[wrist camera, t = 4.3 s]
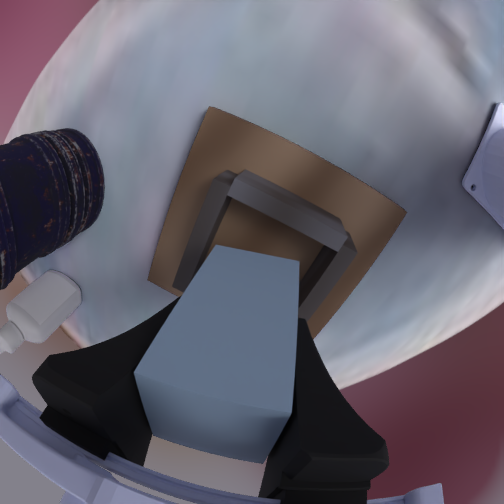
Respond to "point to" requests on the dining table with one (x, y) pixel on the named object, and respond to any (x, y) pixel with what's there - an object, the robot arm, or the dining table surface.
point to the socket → (272, 214)
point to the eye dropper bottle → (39, 310)
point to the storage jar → (45, 195)
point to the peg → (226, 357)
